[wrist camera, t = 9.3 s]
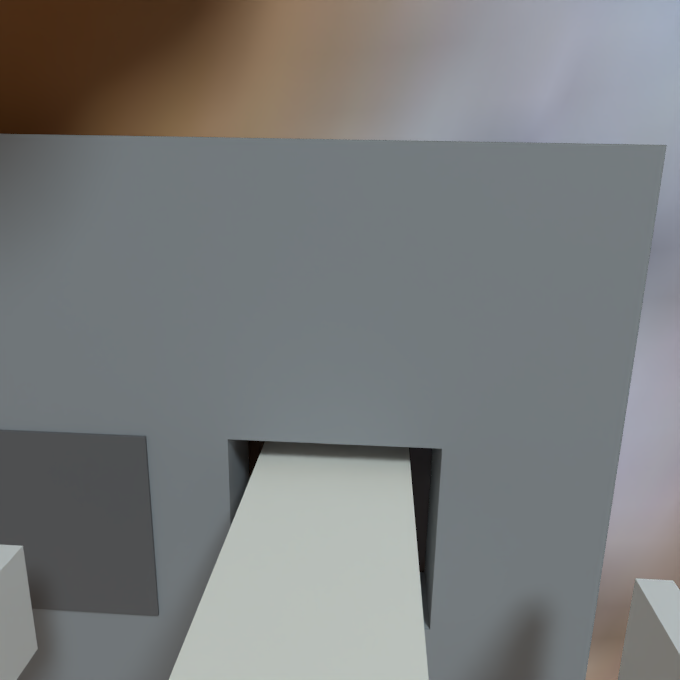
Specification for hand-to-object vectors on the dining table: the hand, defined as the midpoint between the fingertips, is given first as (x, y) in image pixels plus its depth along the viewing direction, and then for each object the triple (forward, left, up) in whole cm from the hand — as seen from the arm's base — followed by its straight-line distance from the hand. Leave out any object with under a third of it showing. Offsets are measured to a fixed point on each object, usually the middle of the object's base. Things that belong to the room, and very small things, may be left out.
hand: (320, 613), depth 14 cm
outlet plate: (-2, -3, -6) cm, 7 cm away
